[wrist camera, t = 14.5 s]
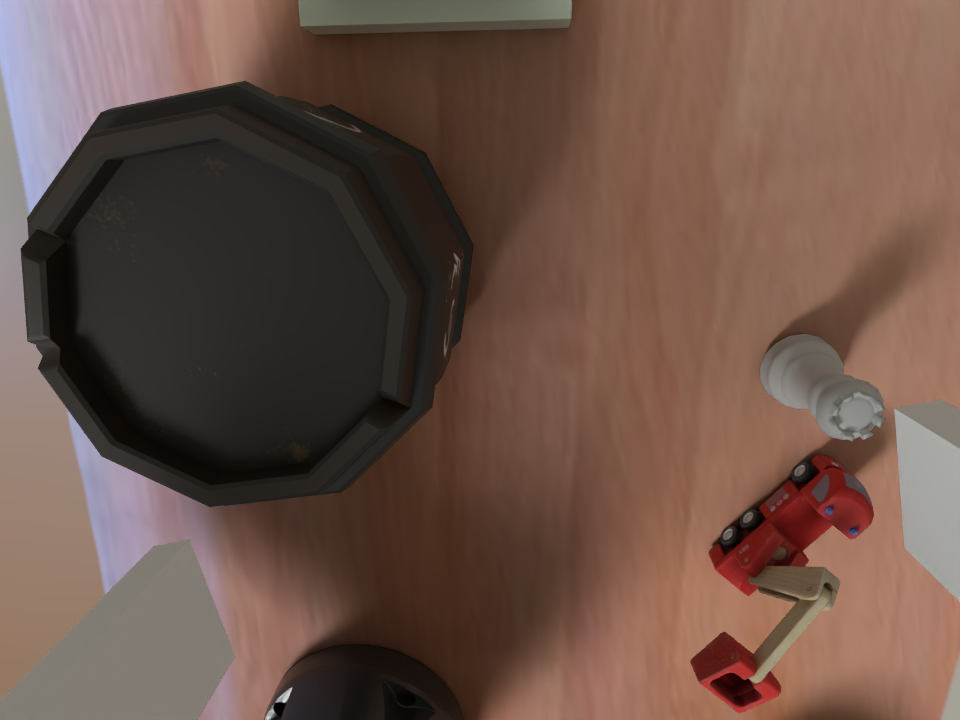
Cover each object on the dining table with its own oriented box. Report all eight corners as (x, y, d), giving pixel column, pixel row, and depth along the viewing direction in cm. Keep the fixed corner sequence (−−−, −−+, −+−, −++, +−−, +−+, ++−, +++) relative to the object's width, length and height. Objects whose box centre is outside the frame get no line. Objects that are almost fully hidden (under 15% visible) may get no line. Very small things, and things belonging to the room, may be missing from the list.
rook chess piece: (749, 345, 39) (801, 390, 31) (825, 321, 38) (897, 361, 31) (766, 410, 40) (821, 469, 32) (840, 388, 39) (914, 444, 32)
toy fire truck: (856, 475, 41) (950, 567, 32) (699, 608, 45) (742, 725, 35) (819, 443, 40) (903, 527, 31) (663, 580, 44) (698, 691, 35)
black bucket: (129, 202, 39) (-119, 228, 24) (378, 49, 36) (265, -31, 21) (285, 445, 43) (155, 595, 29) (524, 330, 40) (517, 432, 25)
